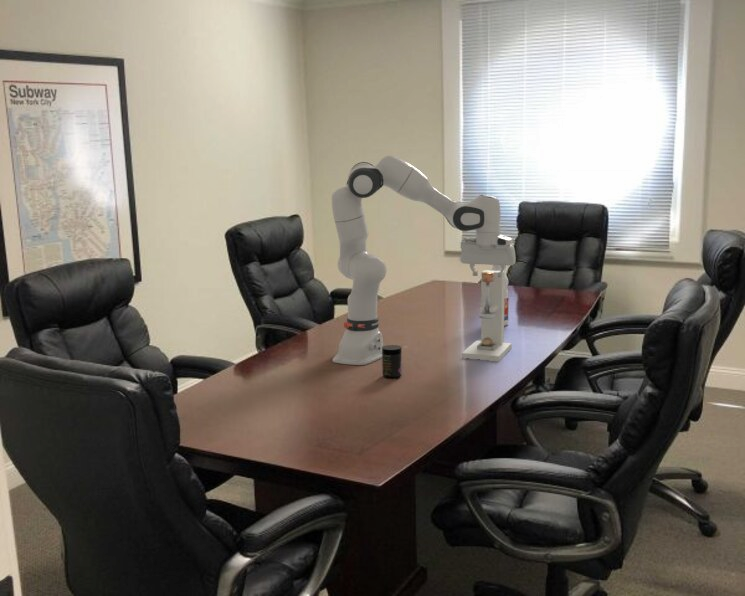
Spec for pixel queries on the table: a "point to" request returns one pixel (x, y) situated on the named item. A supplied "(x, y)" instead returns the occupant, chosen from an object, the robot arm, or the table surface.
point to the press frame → (491, 324)
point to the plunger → (487, 295)
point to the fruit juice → (506, 295)
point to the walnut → (487, 342)
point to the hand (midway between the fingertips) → (487, 276)
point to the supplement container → (391, 361)
